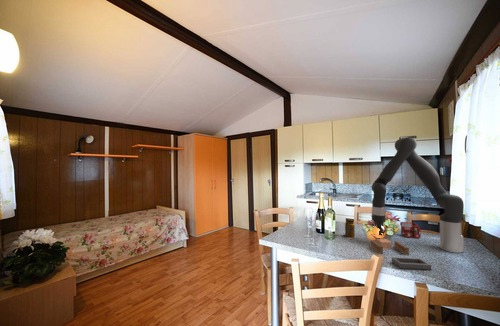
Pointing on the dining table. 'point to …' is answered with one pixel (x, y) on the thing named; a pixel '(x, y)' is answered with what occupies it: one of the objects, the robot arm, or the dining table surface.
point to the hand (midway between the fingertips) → (378, 240)
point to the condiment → (349, 229)
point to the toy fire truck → (410, 230)
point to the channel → (397, 246)
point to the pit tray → (411, 263)
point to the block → (384, 243)
